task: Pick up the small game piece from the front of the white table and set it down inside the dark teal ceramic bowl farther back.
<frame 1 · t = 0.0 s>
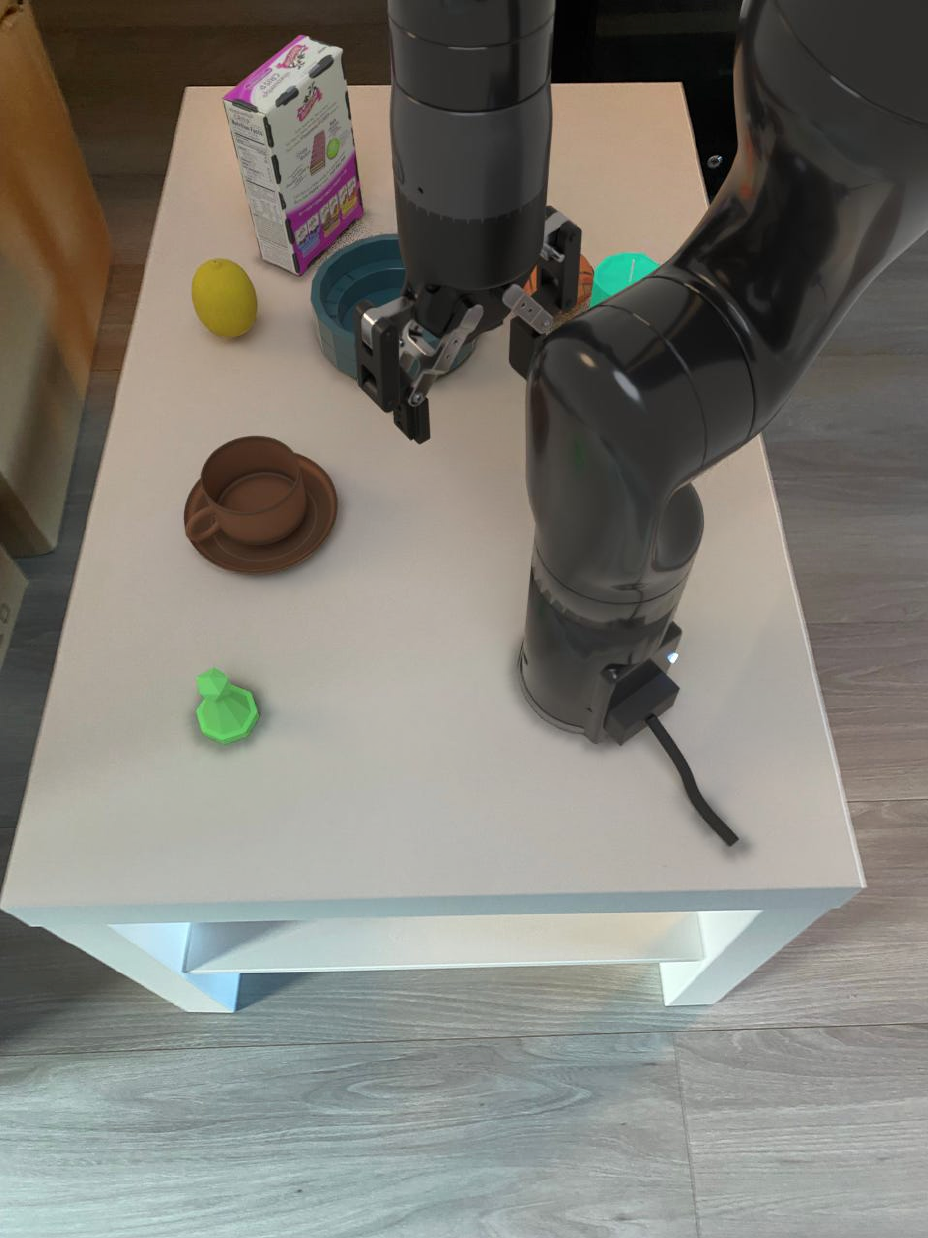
hand: (471, 402, 59), 17 cm above the table, tool pointing down, fingers open, 8 cm apart
candy bar box: (312, 239, 94), on the table
pot: (549, 308, 89), on the table
lemon: (235, 335, 87), on the table
bowl: (398, 331, 87), on the table
cup and saucer: (265, 523, 76), on the table
game piece: (229, 717, 67), on the table
candle: (613, 374, 84), on the table
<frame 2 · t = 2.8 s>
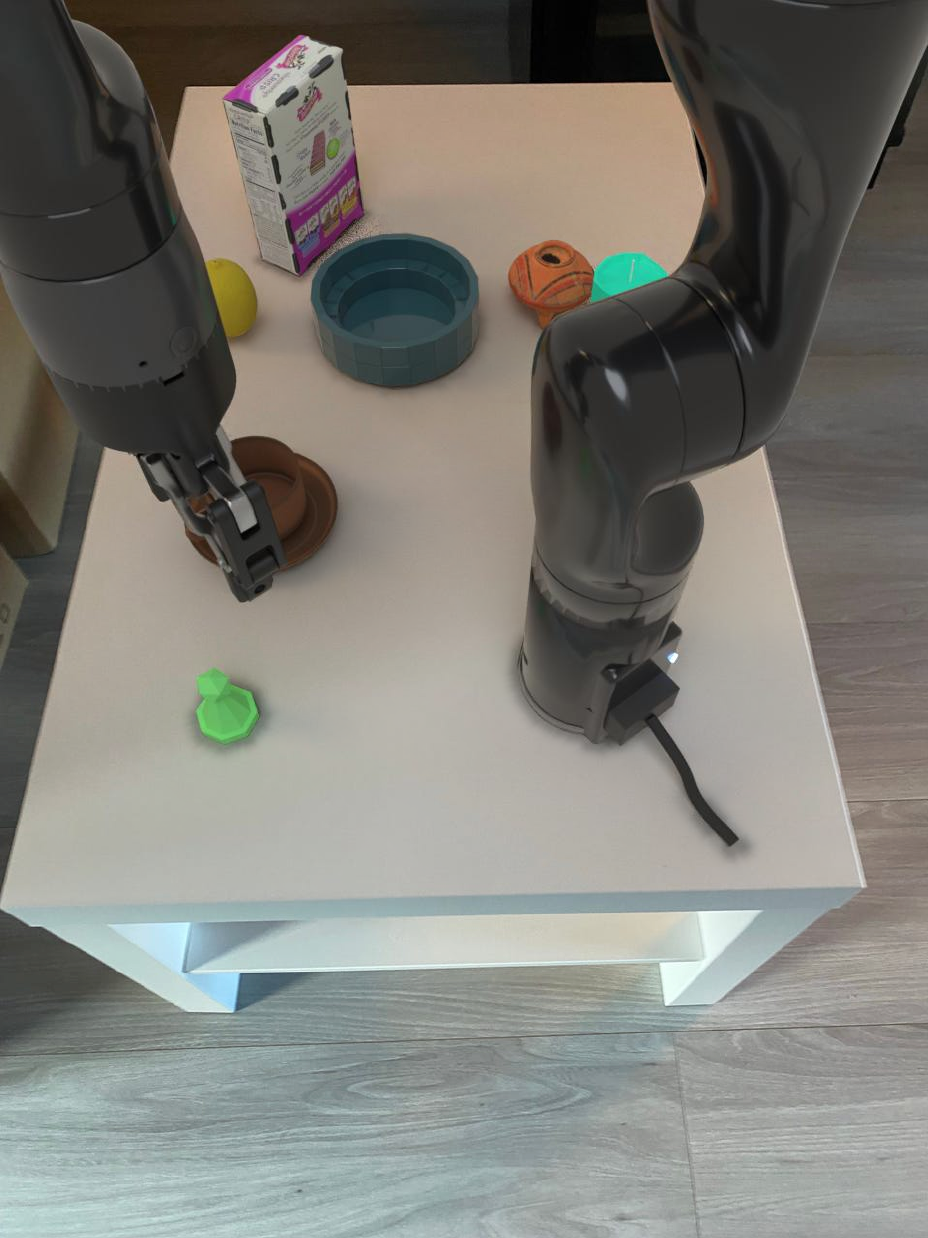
hand: (213, 539, 53), 18 cm above the table, tool pointing down, fingers open, 8 cm apart
nothing on the table moved.
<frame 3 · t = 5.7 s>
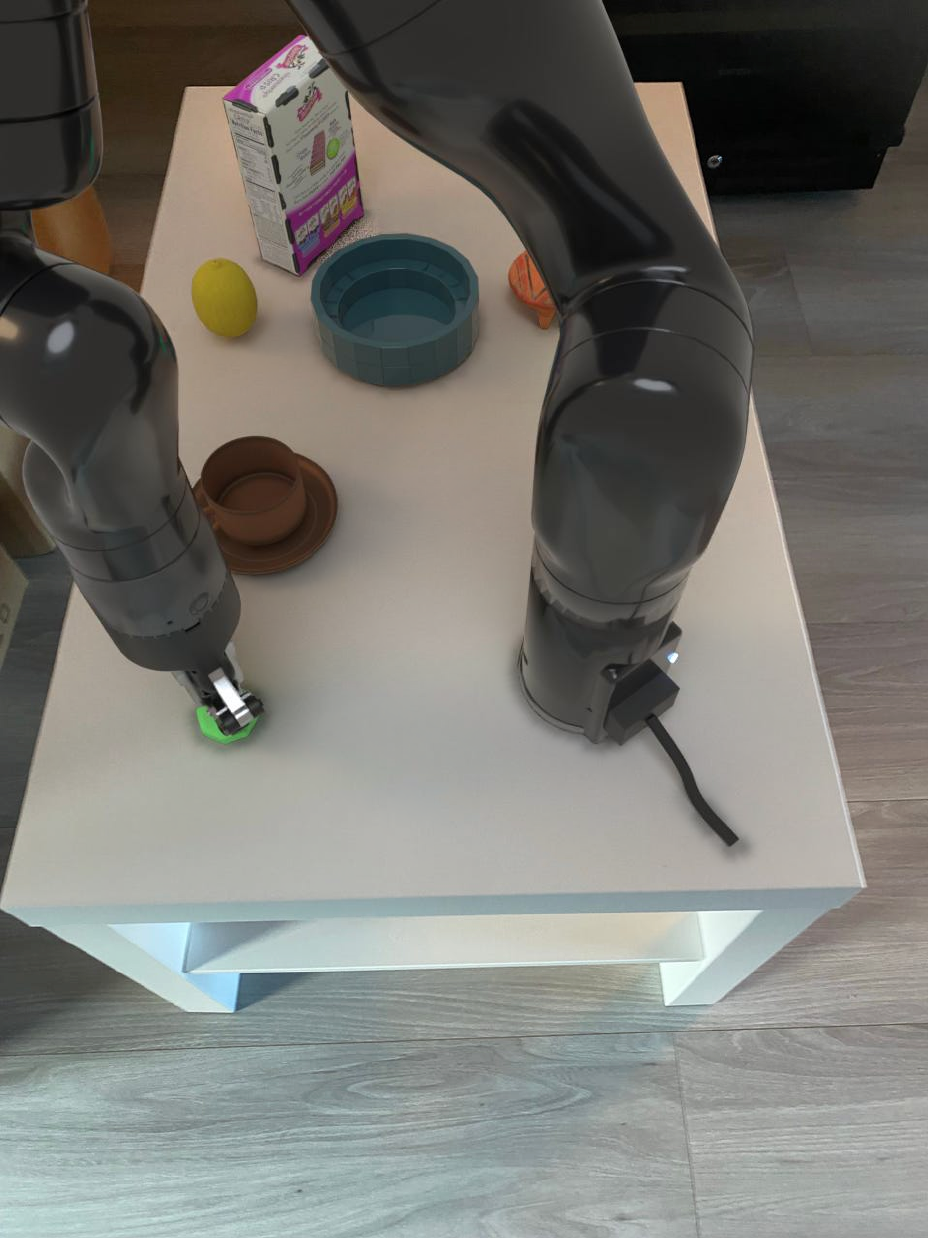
hand: (225, 710, 66), 1 cm above the table, tool pointing down, fingers closed on game piece, 2 cm apart
game piece: (229, 717, 67), on the table, touching gripper
everything else where it was.
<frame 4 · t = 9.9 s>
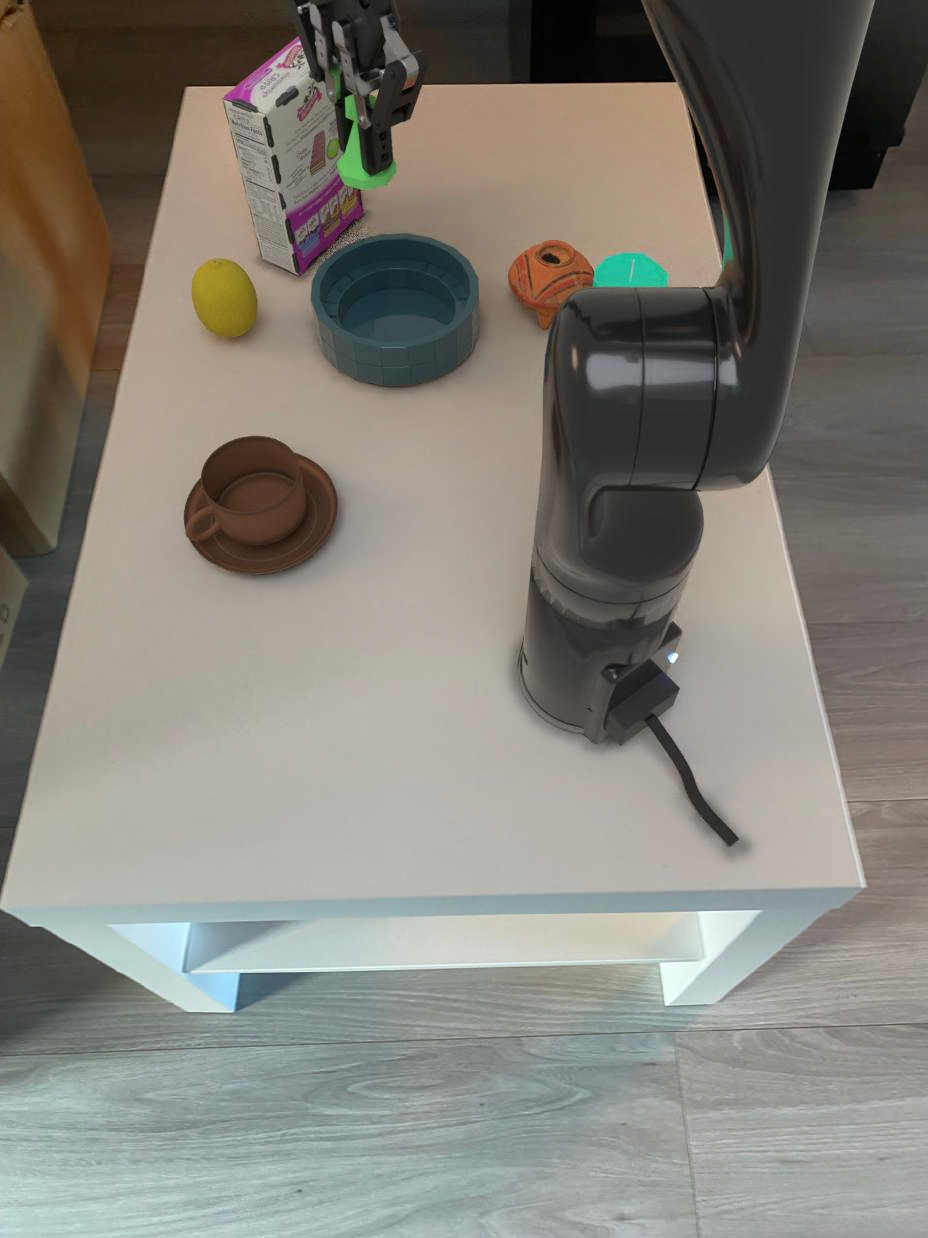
hand: (366, 158, 69), 19 cm above the table, tool pointing down, fingers closed on game piece
game piece: (367, 174, 70), point 18 cm above the table, touching gripper
everything else where it was.
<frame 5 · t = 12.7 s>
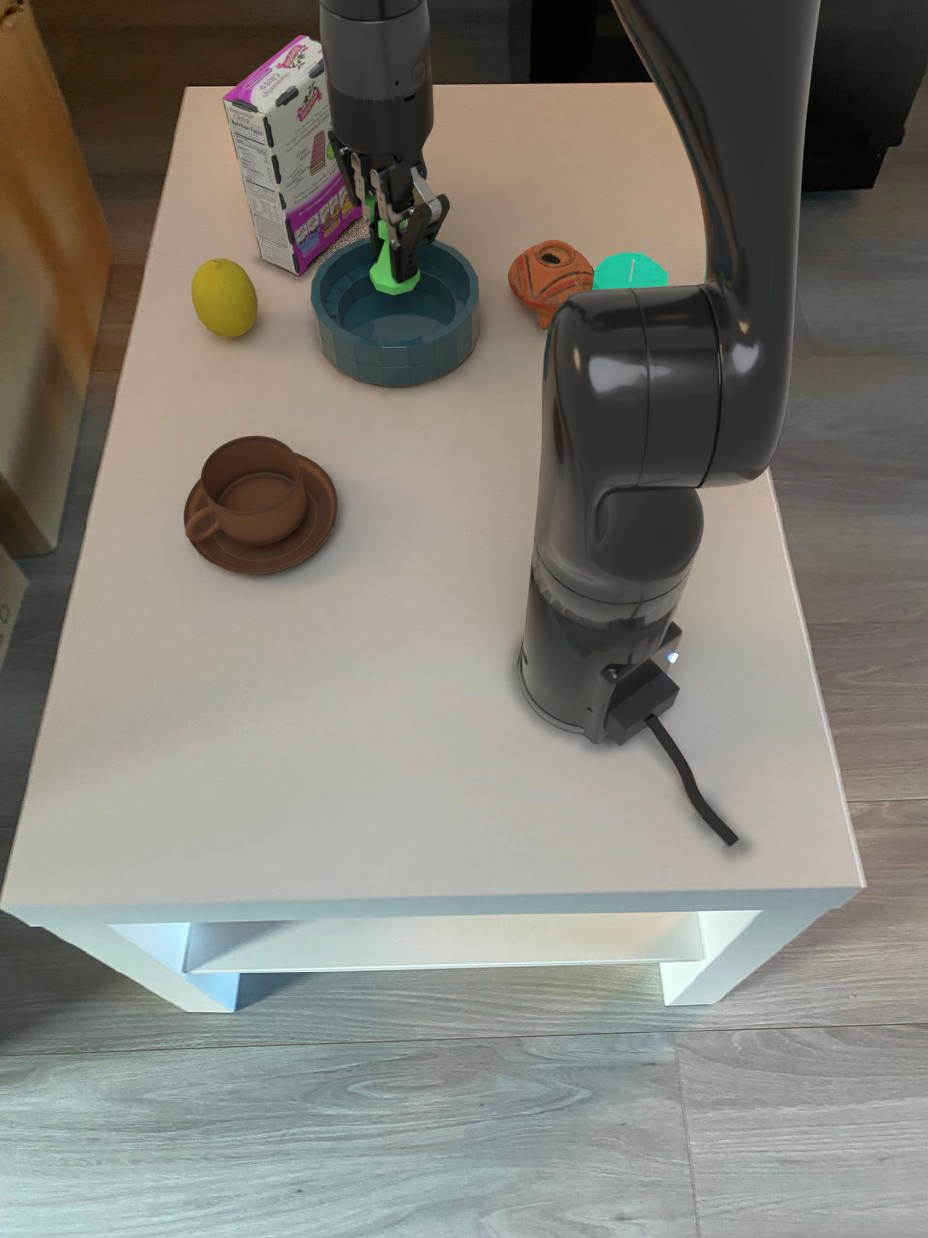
hand: (395, 268, 81), 7 cm above the table, tool pointing down, fingers closed on game piece
game piece: (395, 279, 82), point 6 cm above the table, touching gripper
everything else where it was.
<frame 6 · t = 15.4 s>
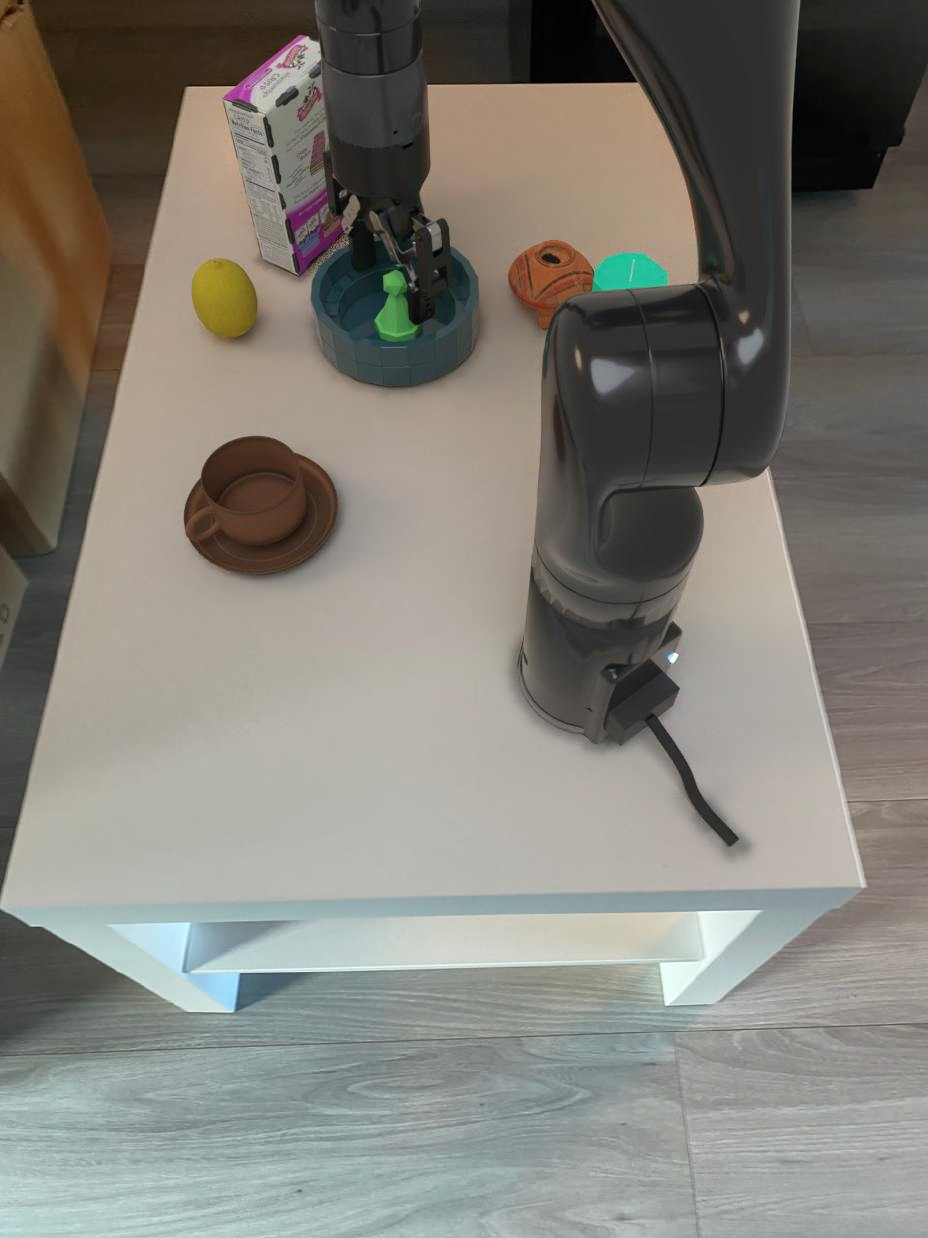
hand: (392, 292, 83), 5 cm above the table, tool pointing down, fingers open, 8 cm apart
game piece: (399, 328, 87), resting on bowl
everything else where it was.
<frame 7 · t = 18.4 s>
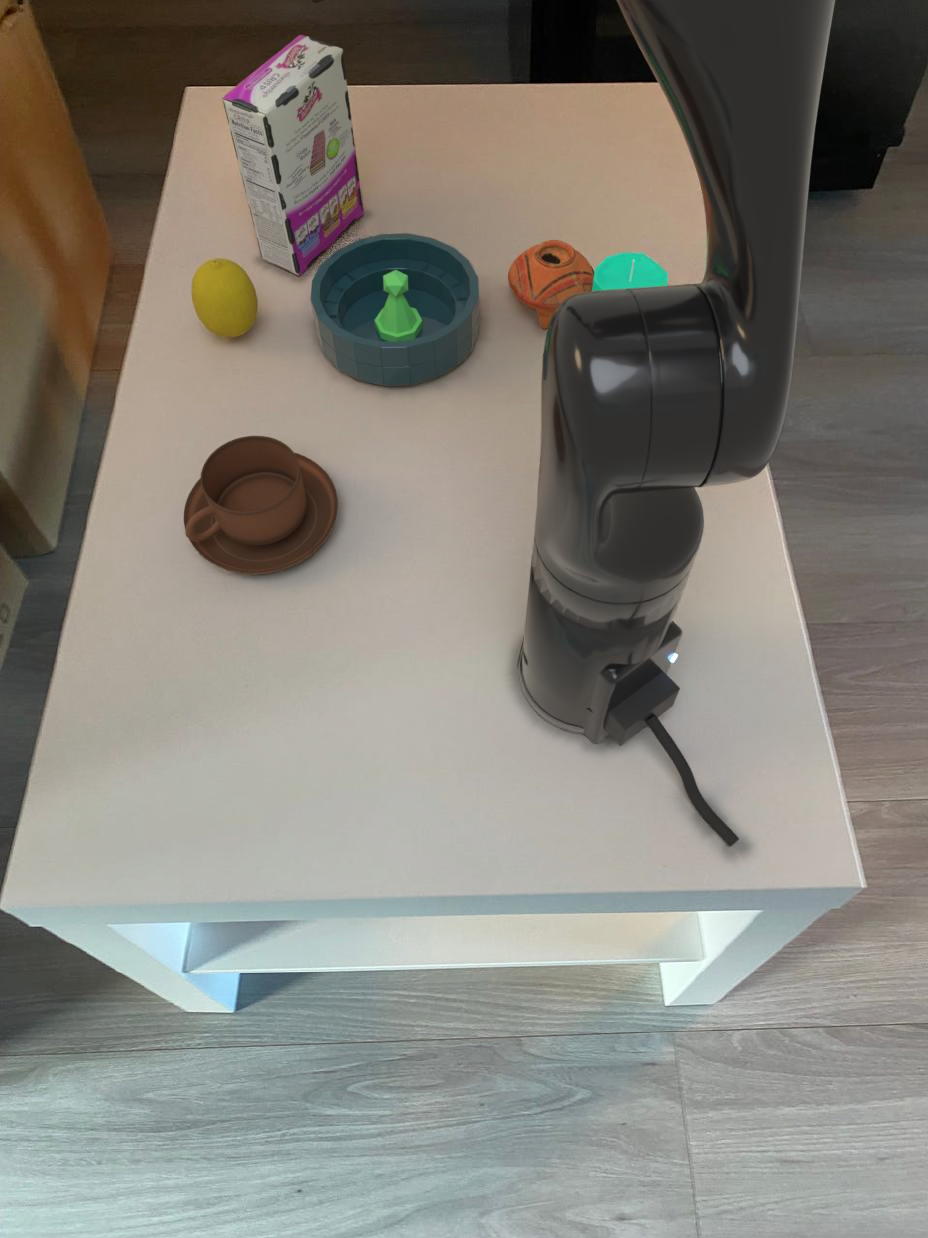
nothing on the table moved.
at the end: game piece inside the target area in the bowl (0.1 cm from its centre), point 0.4 cm above the bowl's base; the gripper is holding nothing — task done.
